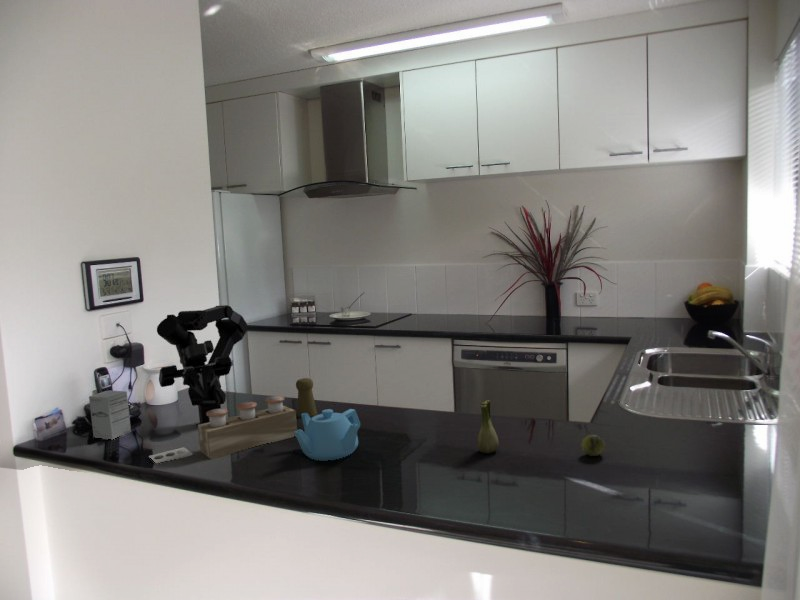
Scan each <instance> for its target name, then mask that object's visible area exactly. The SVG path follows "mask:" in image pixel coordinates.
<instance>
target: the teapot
mask: <svg viewBox="0 0 800 600" xmlns="http://www.w3.org/2000/svg"><path fill="white" fill-rule="evenodd" d="M356 411H357V410H356V409H354V408H353V409H352V408H349V409H347V410H345V411H344V412H342V413H341V412H334V410H333V409H331V408H328V409H323V410H321V413H320V414H316V415H314V416H311V417H310V416H309V415H308V414H307V413H303V414H301V417H300V418H301V421H302V425H303V429H300V428H299V429H297V431H295V432H294V433H295V435H296V436H295V437H296V439H297V441H298V443H299V446H300V447H301V448H300V449H301V450H302V452H303V454H304V455H305V456H307V457H308V458H309V459H310V458H311V459H310V460H313V459H314V461H318V460H319V462H320V461H321V462H326V461H327V462H328V460H331V461H336V459H337V460H341V459H344V458H347V457H349V456H351V455H352V454H353V453H354V451H356V449H357V448H358V445H359V437H358V430H359V429H360V427H361V426H362V425H361V421H360V420H359V417H358V414H357V412H356ZM303 430H304V431H303ZM350 454H351V455H350ZM348 455H349V456H348ZM346 456H347V457H346ZM343 457H344V458H343ZM340 458H341V459H340Z"/></svg>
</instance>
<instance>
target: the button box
mask: <svg viewBox="0 0 800 600" xmlns="http://www.w3.org/2000/svg"><path fill="white" fill-rule="evenodd" d="M255 416H256V418H255V419H251V420H247V421H241V420H240V414H239V415H235V416H230V417H226V426H222V427H217V428H213V429H212V428H211V427H210V422H209V423H204V424H200V425H198V426H197V432H198V440H199V451H200V453H202V454H204V455H205V456H206V457H208V458H209V459H211V460H212V459H216V458H220V457H223V456H228V455H231V454H235V453H238V451H239V452H242V451H241V450H243V451H246V450H249V449H248V448H250V449H253V448H252V447H254V448H256V447H255V446H258V447H260V446H259V445H261V446H263V445H262V444H265V445H267V444H266V443H269V444H272V443H275V442H280V441H283V440H287V439H290V438H291V439H292V438H294V436H295V437H296V435H295V433H294V432H295V431H297V430H298V421H297V411H296V410H295V409H293V408H290V407H288V406H287V405H284V404H283V412H280V413H276V414H272V415H271V414H269V413H268V408H265V409H261V410H255ZM271 442H272V443H271ZM245 449H246V450H245Z"/></svg>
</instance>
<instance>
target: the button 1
mask: <svg viewBox="0 0 800 600" xmlns="http://www.w3.org/2000/svg"><path fill="white" fill-rule="evenodd" d="M227 414H228V409H227V408H221V409H213V410H210V411H208V412H206V415H207V416H209V420H210V427H211V428H212V429H213V428H217V427H222V426H226V418H227V417H226V415H227Z"/></svg>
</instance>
